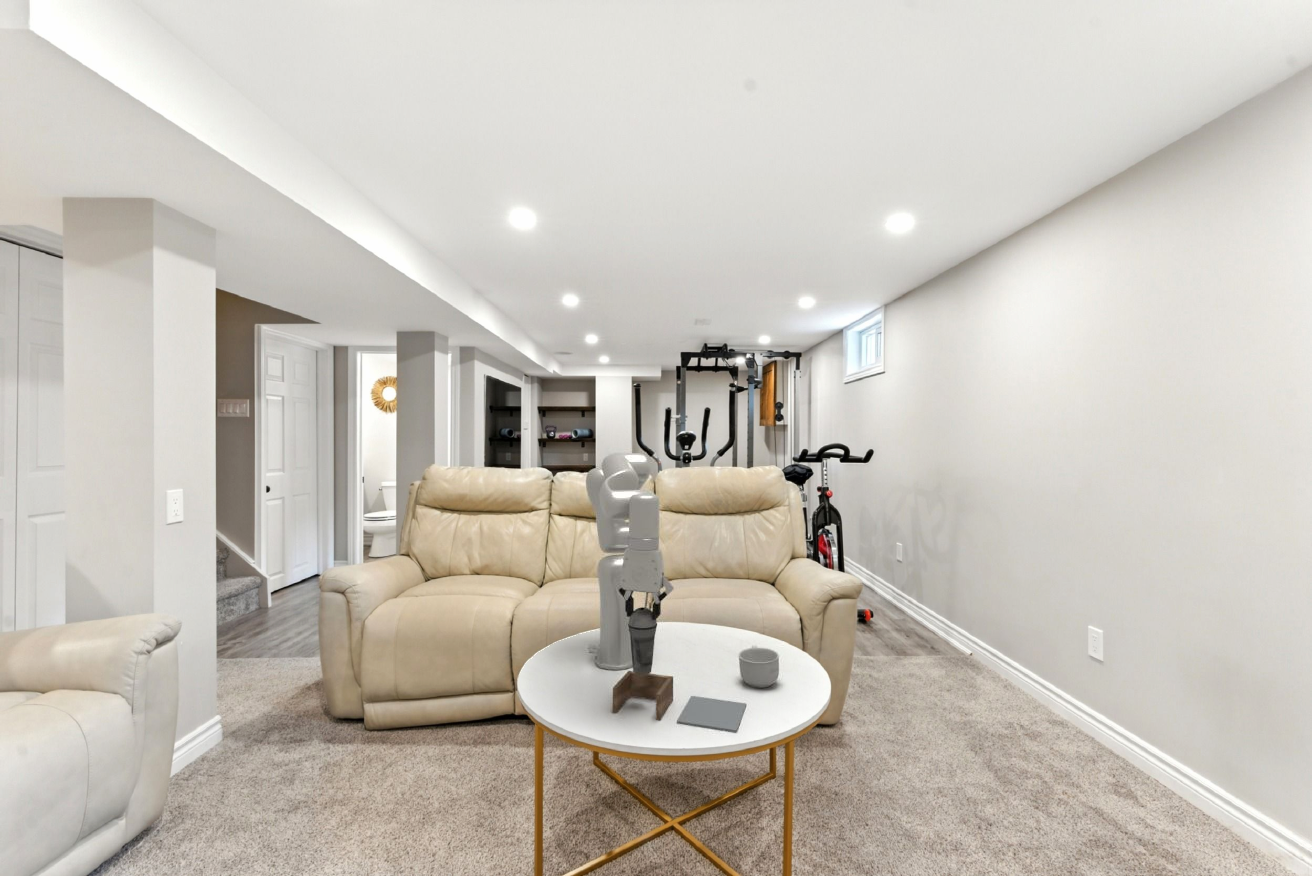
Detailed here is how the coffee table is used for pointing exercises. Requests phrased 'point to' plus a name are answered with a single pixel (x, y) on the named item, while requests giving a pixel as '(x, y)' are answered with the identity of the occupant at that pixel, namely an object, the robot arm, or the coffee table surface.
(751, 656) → the teacup
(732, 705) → the slate mat
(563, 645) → the coffee table surface
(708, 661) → the coffee table surface
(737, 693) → the coffee table surface
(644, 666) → the beverage cup
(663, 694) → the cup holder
